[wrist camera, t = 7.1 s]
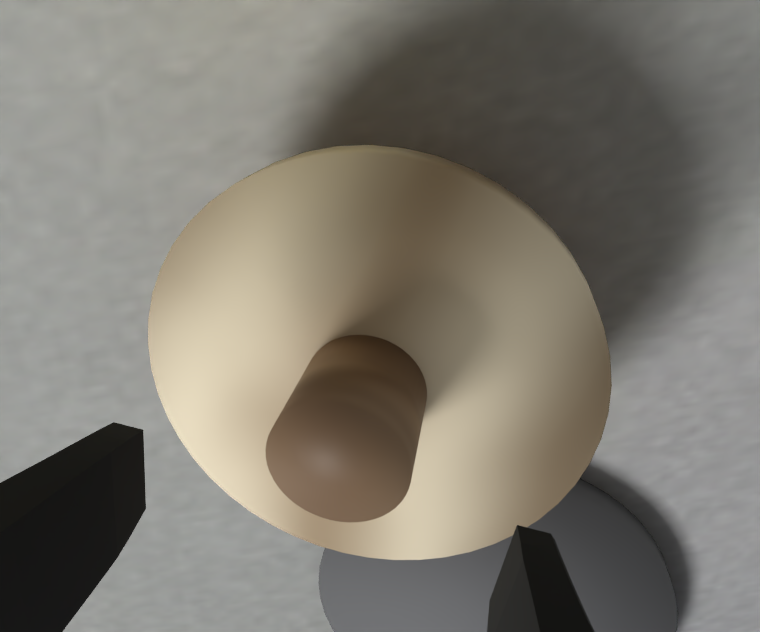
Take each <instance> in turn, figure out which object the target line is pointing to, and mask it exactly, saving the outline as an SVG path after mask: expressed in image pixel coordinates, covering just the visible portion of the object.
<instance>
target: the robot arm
mask: <svg viewBox="0 0 760 632" xmlns="http://www.w3.org/2000/svg"><path fill="white" fill-rule="evenodd" d="M145 509H146V502H145V472H144V442H143V430H141V429H137V428H134V427H130V426H126V425H122V424H118V423H112V424H110V425H108V426H106V427H104V428H102V429H100V430H98V431H96V432H94V433H92V434H90V435H89V436H87V437H85V438H83V439H81V440H79V441H78V442H76V443H74V444H72V445H70V446H68V447H67V448H65V449H63V450H61V451H59V452H57V453H56V454H54V455H52V456H50V457H48V458H46V459H45V460H43V461H41V462H39V463H37V464H35V465H33V466H31V467H29V468H28V469H26V470H24V471H22V472H20V473H18V474H16V475H14V476H13V477H11V478H9V479H7V480H5V481H3V482H1V483H0V632H62V631H63V630H64V629H65V627H66V626H67V625H68V623H69V622H70V621H71V619H72V618H73V617H74V615H75V614H76V613H77V611H78V610H79V609H80V607H81V606H82V605H83V603H84V602H85V601H86V599H87V598H88V597H89V595H90V594H91V593H92V591H93V590H94V589H95V587H96V586H97V585H98V583H99V582H100V581H101V579H102V578H103V577H104V575H105V574H106V572H107V571H108V570H109V568H110V567H111V566H112V564H113V563H114V561H115V560H116V559H117V557H118V556H119V554H120V552H121V551H122V549H123V547H124V546H125V544H126V542H127V541H128V539H129V537H130V536H131V534H132V532H133V530H134V529H135V527H136V525H137V523H138V521H139V520H140V518H141V516H142V514H143V512H144V511H145ZM487 632H595V631H594V629H593V627H592V625H591V623H590V621H589V618H588V616H587V614H586V612H585V610H584V608H583V605H582V603H581V601H580V599H579V596H578V594H577V592H576V590H575V587H574V585H573V583H572V580H571V578H570V576H569V573H568V571H567V569H566V566H565V564H564V561H563V559H562V556H561V554H560V551H559V549H558V546H557V544H556V541H555V539H554V538H553V536H552V535H551V533H547V532H543V531H539V530H535V529H531V528H527V527H523V526H519V525H517V526H516V529H515V532H514V535H513V537H512V540H511V543H510V546H509V548H508V551H507V554H506V557H505V559H504V562H503V565H502V568H501V570H500V573H499V576H498V579H497V581H496V584H495V587H494V590H493V592H492V595H491V598H490V601H489V613H488V625H487Z"/></svg>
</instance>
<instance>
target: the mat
mask: <svg viewBox="0 0 760 632" xmlns="http://www.w3.org/2000/svg"><path fill="white" fill-rule="evenodd" d="M527 528H531V529H535V530H539V531H543V532H547V533H551V535H552V536H553V538H554V539H555V541H556V544H557V546H558V549H559V551H560V554H561V556H562V559H563V561H564V564H565V566H566V569H567V571H568V573H569V576H570V578H571V580H572V583H573V585H574V587H575V590H576V592H577V594H578V596H579V599H580V601H581V603H582V605H583V608H584V610H585V612H586V614H587V616H588V618H589V621H590V623H591V625H592V627H593V629H594V631H595V632H676V630H677V615H678V610H677V604H676V597H675V592H674V589H673V586H672V583H671V579H670V576H669V573H668V570H667V567H666V564H665V562H664V559H663V556H662V554H661V552H660V550H659V548H658V547H657V545H656V543H655V541H654V539H653V538H652V536H651V535H650V534H649V533H648V531H647V530H646V529H645V528H644V526H643V525H642V524H641V523H640V521H639V520H638V519H637V518H636V517H635V516H633V515H632V514H631V513H630V512H629V511H628V510H627V509H626V508H625V507H624V506H623V505H621V504H620V503H619V502H617V501H616V500H615V499H613V498H612V497H610V496H609V495H608V494H606V493H605V492H603V491H601V490H600V489H598V488H596V487H594V486H593V485H591V484H589V483H587V482H585V481H584V480H581V479H579V480H578V482H577V483H576V485H575V486H574V487H573V488H572V489H571V490H570V491H569V492H568V493H567V494H566V496H565V497H564V498H563V499H562V500H561V501H560V502H559V503H558V504H557V505H556V506H555V507H554V508H552V509H551V510H550V511H549V512H547V513H546V514H545V515H544V516H543V517H541V518H540V519H539V520H538V521H536V522H534V523H533V524H531V525H530V526H528V527H527ZM512 537H513V535H512V536H510V537H508V538H506V539H504V540H502V541H500V542H497V543H495V544H493V545H490V546H487V547H484V548H481V549H478V550H475V551H472V552H468V553H463V554H458V555H454V556H449V557H443V558H434V559H424V560H388V559H378V558H368V557H363V556H357V555H352V554H347V553H342V552H339V551H335V550H332V549H328V548H325V550H324V553H323V557H322V560H321V564H320V570H319V590H320V598H321V602H322V605H323V609H324V612H325V615H326V617H327V619H328V621H329V623H330V625H331V627H332V629H333V631H334V632H487V625H488V613H489V601H490V598H491V595H492V592H493V590H494V587H495V584H496V581H497V579H498V576H499V573H500V570H501V568H502V565H503V562H504V559H505V557H506V554H507V551H508V548H509V546H510V543H511V540H512Z"/></svg>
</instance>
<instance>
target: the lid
mask: <svg viewBox="0 0 760 632" xmlns="http://www.w3.org/2000/svg"><path fill="white" fill-rule="evenodd" d="M148 346H149V354H150V361H151V369H152V373H153V377H154V380H155V384H156V388H157V391H158V395H159V397H160V400H161V402H162V404H163V407H164V409H165V412H166V414H167V417H168V419H169V420H170V422H171V424H172V426H173V428H174V429H175V431H176V433H177V435H178V437H179V438H180V440H181V441H182V443H183V444H184V446H185V447H186V448H187V450H188V451H189V453H190V454H191V456H192V457H193V458H194V460H195V461H196V462H197V463H198V464H199V465H200V467H201V468H202V469H203V470H204V471H205V472H206V473H207V474H208V476H209V477H210V478H211V479H212V480H213V481H214V482H215V483H216V484H217V485H219V486H220V487H221V488H222V489H223V490H224V491H225V492H226V493H227V494H228V495H229V496H231V497H232V498H233V499H234V500H236V501H237V502H238V503H240V504H241V505H242V506H244V507H245V508H246V509H248V510H249V511H250V512H252V513H253V514H255V515H257V516H258V517H260V518H262V519H263V520H265V521H266V522H268V523H270V524H271V525H273V526H275V527H277V528H279V529H281V530H283V531H285V532H287V533H289V534H291V535H293V536H295V537H298V538H300V539H303V540H305V541H308V542H310V543H313V544H316V545H318V546H321V547H325V548H328V549H332V550H335V551H339V552H342V553H347V554H352V555H357V556H363V557H368V558H378V559H388V560H424V559H434V558H443V557H449V556H454V555H458V554H463V553H468V552H472V551H475V550H478V549H481V548H484V547H487V546H490V545H493V544H495V543H497V542H500V541H502V540H504V539H506V538H508V537H510V536H512V535H514V532H515V529H516V526H517V525H519V526H523V527H528V526H530V525H531V524H533V523H534V522H536V521H538V520H539V519H540V518H541V517H543V516H544V515H545V514H546V513H547V512H549V511H550V510H551V509H552V508H554V507H555V506H556V505H557V504H558V503H559V502H560V501H561V500H562V499H563V498H564V497H565V496H566V494H567V493H568V492H569V491H570V490H571V489H572V488H573V487H574V486H575V485H576V483H577V482H578V480H579V479H580V477H581V476H582V474H583V473H584V471H585V470H586V468H587V467H588V465H589V464H590V462H591V460H592V457H593V455H594V453H595V451H596V449H597V447H598V445H599V442H600V440H601V437H602V434H603V430H604V427H605V423H606V420H607V416H608V412H609V403H610V395H611V386H612V384H611V364H610V353H609V349H608V344H607V339H606V335H605V330H604V326H603V323H602V320H601V317H600V315H599V312H598V309H597V306H596V304H595V301H594V298H593V296H592V293H591V291H590V288H589V285H588V283H587V280H586V278H585V277H584V275H583V273H582V271H581V270H580V268H579V266H578V264H577V263H576V261H575V259H574V257H573V255H572V254H571V252H570V251H569V250H568V248H567V247H566V246H565V245H564V243H563V242H562V241H561V239H560V238H559V237H558V236H557V234H556V233H555V232H554V230H553V229H552V228H551V227H550V226H549V225H548V224H547V223H546V222H545V221H544V220H543V219H542V218H541V217H540V216H539V215H538V214H537V213H536V212H535V211H534V210H533V209H532V208H531V207H529V206H528V205H527V204H526V203H525V202H523V201H522V200H521V199H519V198H518V197H516V196H515V195H514V194H512V193H511V192H510V191H508V190H507V189H505V188H504V187H503V186H501V185H500V184H498V183H496V182H494V181H493V180H491V179H489V178H487V177H485V176H483V175H482V174H480V173H478V172H476V171H474V170H472V169H470V168H468V167H465V166H463V165H460V164H458V163H455V162H452V161H450V160H447V159H444V158H442V157H439V156H436V155H432V154H427V153H423V152H419V151H415V150H410V149H406V148H399V147H388V146H378V145H353V146H335V147H330V148H324V149H319V150H313V151H308V152H304V153H301V154H298V155H295V156H292V157H289V158H286V159H283V160H280V161H277V162H275V163H273V164H271V165H269V166H267V167H265V168H263V169H261V170H259V171H257V172H255V173H253V174H251V175H250V176H248V177H246V178H244V179H243V180H241V181H239V182H237V183H236V184H234V185H232V186H231V187H230V188H228V189H227V190H226V191H224V192H223V193H221V194H220V195H219V196H217V197H216V198H214V199H213V200H212V201H210V202H209V203H208V204H207V205H206V206H205V207H204V208H203V209H202V210H201V211H200V212H199V213H198V214H197V215H196V216H195V217H194V218H193V219H192V220H191V221H190V222H189V223H188V224H187V226H186V227H185V228H184V230H183V231H182V233H181V234H180V235H179V237H178V238H177V240H176V241H175V242H174V244H173V245H172V247H171V249H170V251H169V253H168V255H167V257H166V259H165V261H164V263H163V265H162V267H161V269H160V272H159V275H158V278H157V281H156V284H155V288H154V291H153V294H152V300H151V306H150V313H149V319H148Z"/></svg>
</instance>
